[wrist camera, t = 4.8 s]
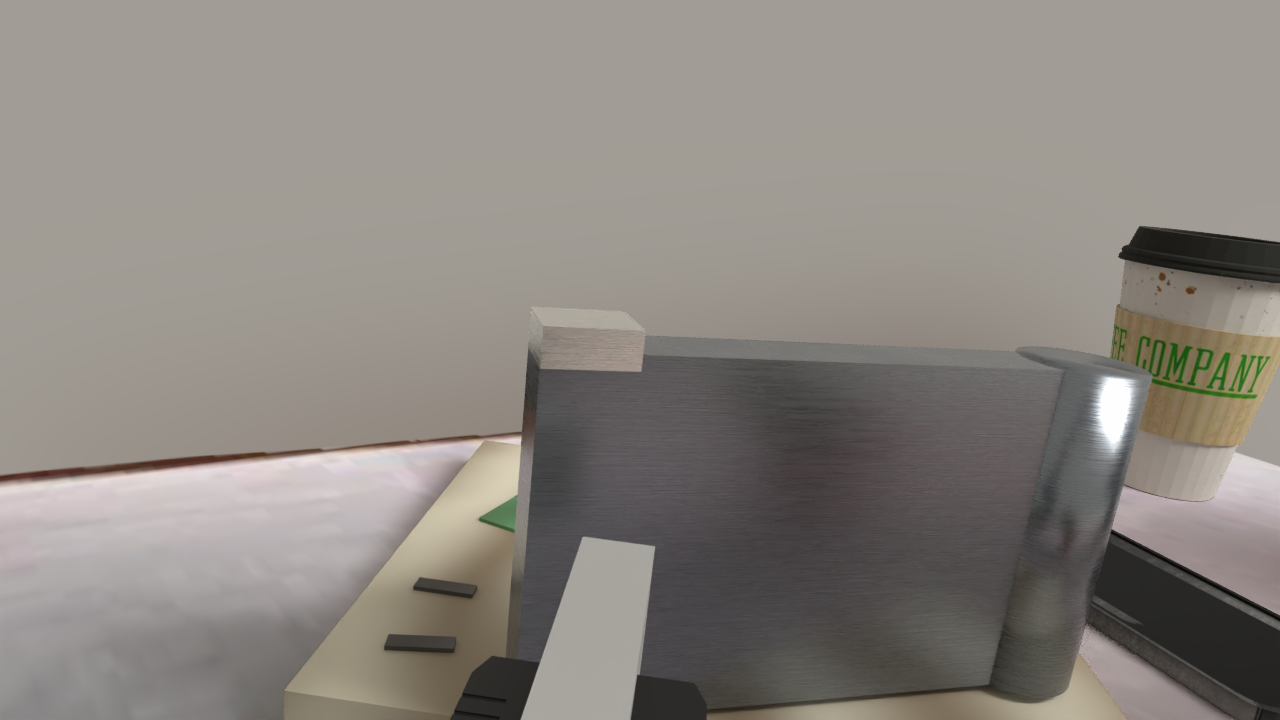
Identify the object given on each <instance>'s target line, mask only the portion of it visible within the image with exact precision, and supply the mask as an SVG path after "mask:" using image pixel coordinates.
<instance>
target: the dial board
mask: <svg viewBox="0 0 1280 720" xmlns="http://www.w3.org/2000/svg"><path fill="white" fill-rule="evenodd" d="M520 453H521V445H516V444H508V443H500V442H493V441H484V442H483V443H482V444H481V446H480V447H479V448H478V449H477V451H476V452H475V453H474V454H473V456H472V457H471V458H470V459H469V461H468V462H467V463H466V464H465V466H464V467H463V468H462V469H461V471H460V472H459V473H458V474H457V475H456V477H455V478H454V479H453V480H452V482H451V483H450V484H449V485H448V487H447V488H446V489H445V490H444V492H443V493H442V494H441V495H440V497H439V498H438V499H437V500H436V502H435V503H434V504H433V505H432V507H431V508H430V509H429V510H428V512H427V513H426V514H425V515H424V517H423V518H422V519H421V520H420V521H419V523H418V524H417V525H416V526H415V528H414V529H413V530H412V531H411V533H410V534H409V535H408V536H407V538H406V539H405V540H404V541H403V543H402V544H401V545H400V546H399V548H398V549H397V550H396V551H395V553H394V554H393V555H392V556H391V558H390V559H389V560H388V561H387V563H386V564H385V565H384V566H383V567H382V569H381V570H380V571H379V572H378V574H377V575H376V576H375V577H374V579H373V580H372V581H371V582H370V584H369V585H368V586H367V587H366V589H365V590H364V591H363V592H362V594H361V595H360V596H359V597H358V599H357V600H356V601H355V602H354V604H353V605H352V606H351V607H350V609H349V610H348V611H347V612H346V614H345V615H344V616H343V617H342V618H341V620H340V621H339V622H338V623H337V625H336V626H335V627H334V628H333V630H332V631H331V632H330V633H329V635H328V636H327V637H326V638H325V640H324V641H323V642H322V643H321V645H320V646H319V647H318V648H317V650H316V651H315V652H314V653H313V655H312V656H311V657H310V658H309V660H308V661H307V662H306V663H305V664H304V666H303V667H302V668H301V669H300V671H299V672H298V673H297V674H296V676H295V677H294V678H293V679H292V681H291V682H290V683H289V684H288V686H287V687H286V688H285V689H284V720H450V718H451V716H452V714H454V710H455V707H456V705H457V703H458V701H459V699H460V697H462V692H463V690H464V688H465V686H466V684H467V682H468V679H469V677H470V675H471V673H472V672H473V671H474V670H475V669H476V668H478V667H479V666H480V665H481V664H483V663H484V662H485V661H486V660H487V659H489V658H490V657H491V656H497V657H504V658H505V657H506V643H507V630H508V616H509V603H510V589H511V576H512V562H513V548H514V535H515V521H516V508H517V494H518V480H519V467H520ZM707 720H1128V719H1127V718H1126V717H1125V715H1124V714H1123V712H1122V711H1121V710H1120V708H1119V707H1118V706H1117V704H1116V703H1115V701H1114V700H1113V699H1112V697H1111V696H1110V695H1109V693H1108V692H1107V690H1106V689H1105V688H1104V686H1103V685H1102V684H1101V682H1100V681H1099V679H1098V678H1097V677H1096V675H1095V674H1094V673H1093V671H1092V670H1091V668H1090V667H1089V666H1088V664H1087V663H1086V662H1085V660H1084V659H1083V657H1082V656H1081V655H1080V653H1079V652H1078V655H1077V658H1076V662H1075V666H1074V670H1073V673H1072V677H1071V681H1070V684H1069V688H1068V689H1067V691H1065V692H1064V693H1063V694H1061V695H1059V696H1055V697H1050V698H1032V697H1025V696H1020V695H1016V694H1012V693H1008V692H1006V691H1003V690H1000V689H997V688H995V687H993V686H990V685H980V686H969V687H958V688H946V689H935V690H923V691H912V692H900V693H889V694H878V695H866V696H855V697H843V698H832V699H820V700H809V701H798V702H786V703H775V704H763V705H752V706H740V707H729V708H718V709H707Z"/></svg>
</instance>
